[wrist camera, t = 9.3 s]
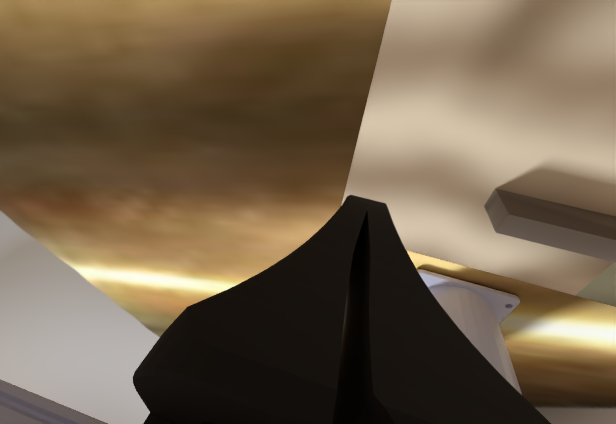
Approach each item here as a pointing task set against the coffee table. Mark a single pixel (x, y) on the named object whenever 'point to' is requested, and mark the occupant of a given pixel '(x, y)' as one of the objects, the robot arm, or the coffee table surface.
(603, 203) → the deck
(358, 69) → the coffee table surface
